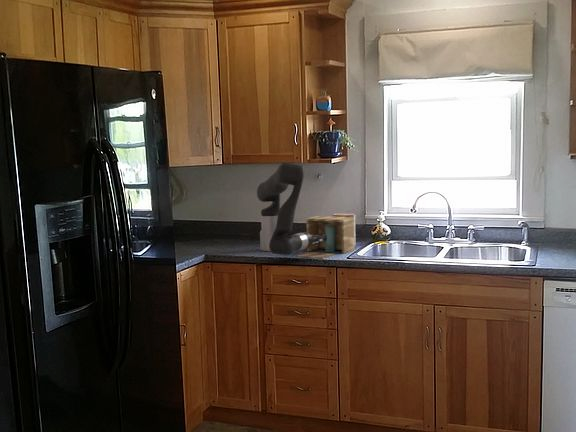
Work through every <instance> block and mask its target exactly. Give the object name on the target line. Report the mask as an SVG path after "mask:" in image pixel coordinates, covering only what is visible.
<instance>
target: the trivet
mask: <svg viewBox="0 0 576 432" xmlns="http://www.w3.org/2000/svg"><path fill="white" fill-rule="evenodd" d="M334 255H335V253H331V252H329V253H328V252H314V251H307V252H304V253H303V252H302V253H301V254H297V255H295V258H296V257H297V258H311V259H321V260H322V259H326V258H328V257H333V256H334Z"/></svg>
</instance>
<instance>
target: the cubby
mask: <svg viewBox="0 0 576 432" xmlns="http://www.w3.org/2000/svg"><path fill="white" fill-rule="evenodd" d="M325 226H335V250H338V251H341V254H343V255H344V254H347V253H350V252H353V251H355V247H354V217H332V216H328V215H327V216H325V215H315V216H310V217H307V218H306V232H308V233H309V234H311V235H319V236H323V235H325ZM316 239H317V237H316ZM318 249H323V250H325V242H322V243H314V244H312V245H311V246H310V247H309V248H306V251H307V252H312V251H314V250H318Z"/></svg>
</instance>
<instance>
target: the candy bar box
mask: <svg viewBox="0 0 576 432" xmlns="http://www.w3.org/2000/svg"><path fill="white" fill-rule="evenodd" d="M331 217H354V248H355V247H356V245H357V244H356V243H357V242H356V240H357V238H356V236H357V235H356V213H333V214H332V215H331Z"/></svg>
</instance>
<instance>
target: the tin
mask: <svg viewBox="0 0 576 432" xmlns="http://www.w3.org/2000/svg"><path fill="white" fill-rule="evenodd" d="M325 235H327V242H325V249H324V251H325V252H326V253H328V252H329V253H331V252H332V253H333V252H336V249H335V226H325Z"/></svg>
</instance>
